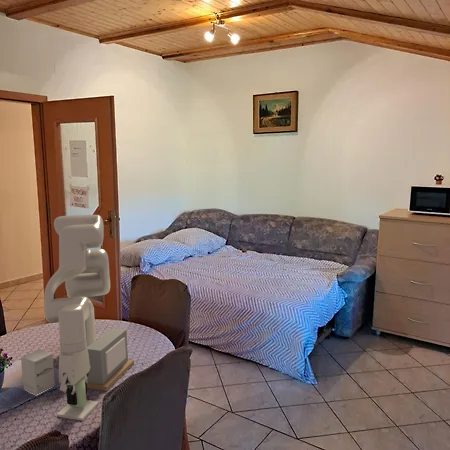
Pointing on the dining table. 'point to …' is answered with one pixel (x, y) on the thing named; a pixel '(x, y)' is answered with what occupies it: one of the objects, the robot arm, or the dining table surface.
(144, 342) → the dining table surface
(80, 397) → the sage part
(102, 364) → the box
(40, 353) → the supplement box
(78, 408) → the grey pad
